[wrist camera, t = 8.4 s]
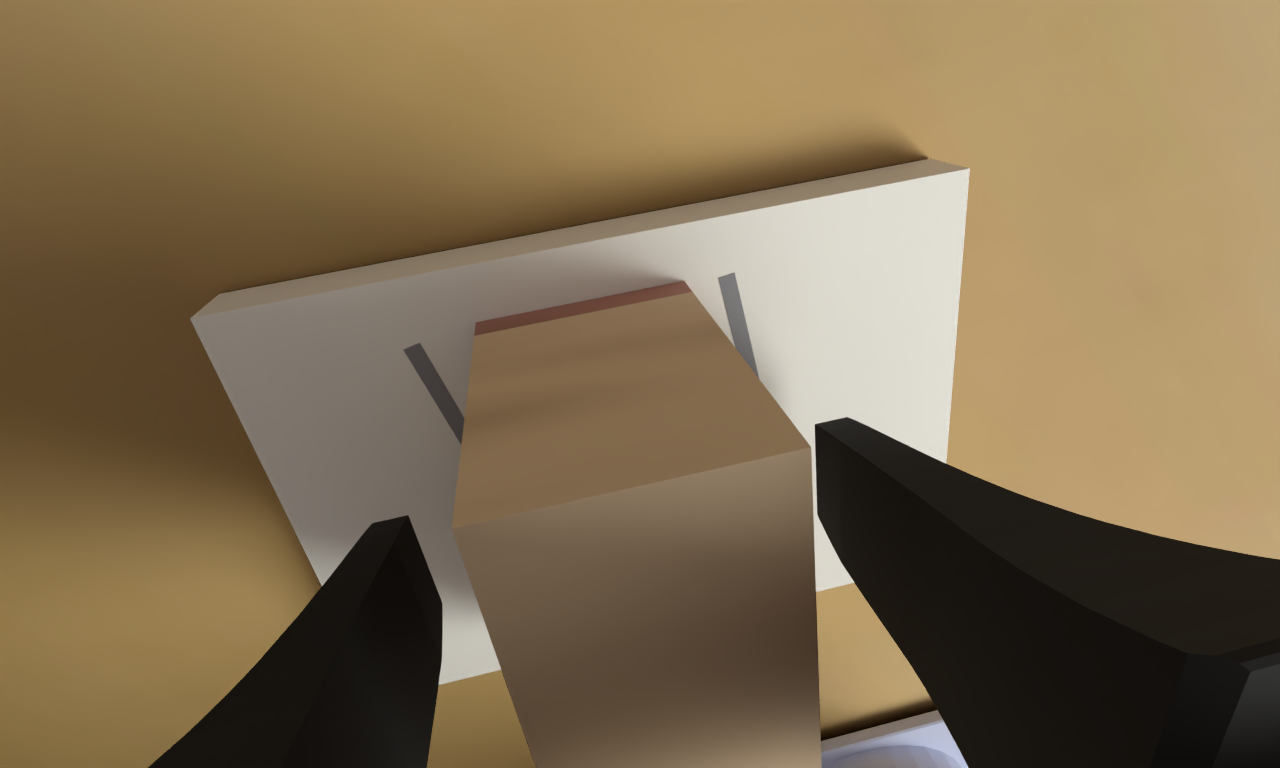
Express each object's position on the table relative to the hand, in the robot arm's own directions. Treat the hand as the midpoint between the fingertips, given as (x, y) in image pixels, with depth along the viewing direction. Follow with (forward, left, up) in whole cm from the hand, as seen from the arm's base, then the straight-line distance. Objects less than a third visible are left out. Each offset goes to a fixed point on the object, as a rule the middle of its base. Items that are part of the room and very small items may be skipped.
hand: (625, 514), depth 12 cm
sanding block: (0, 0, -1) cm, 1 cm away
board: (0, -1, -3) cm, 3 cm away
